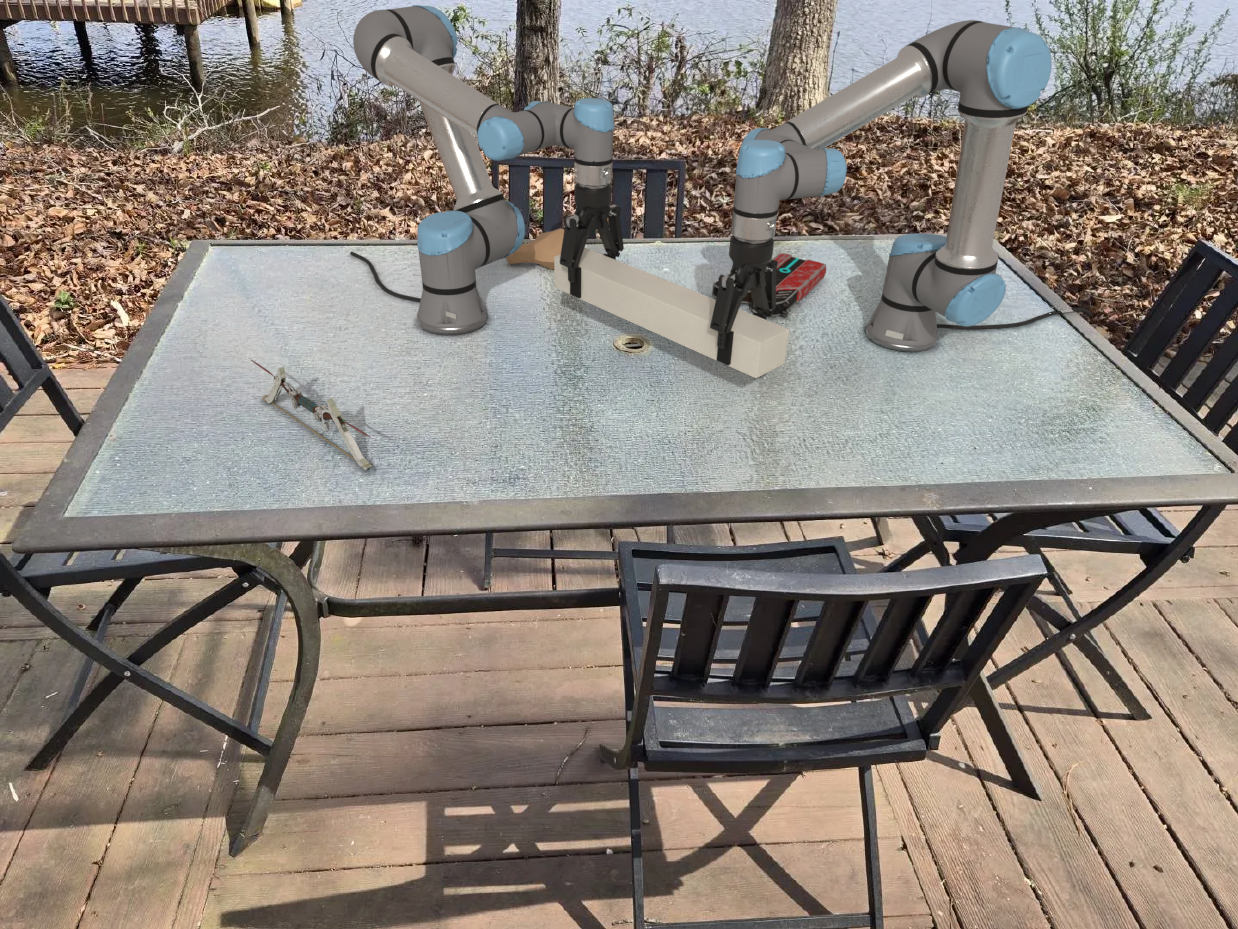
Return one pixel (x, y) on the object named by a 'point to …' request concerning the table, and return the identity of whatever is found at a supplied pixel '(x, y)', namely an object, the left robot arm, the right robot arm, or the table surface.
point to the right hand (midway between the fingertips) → (739, 354)
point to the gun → (789, 282)
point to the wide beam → (675, 312)
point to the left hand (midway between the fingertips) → (591, 290)
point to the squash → (540, 250)
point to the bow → (316, 413)
